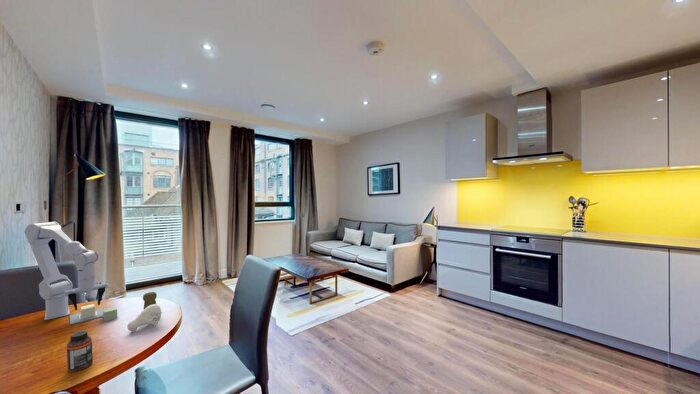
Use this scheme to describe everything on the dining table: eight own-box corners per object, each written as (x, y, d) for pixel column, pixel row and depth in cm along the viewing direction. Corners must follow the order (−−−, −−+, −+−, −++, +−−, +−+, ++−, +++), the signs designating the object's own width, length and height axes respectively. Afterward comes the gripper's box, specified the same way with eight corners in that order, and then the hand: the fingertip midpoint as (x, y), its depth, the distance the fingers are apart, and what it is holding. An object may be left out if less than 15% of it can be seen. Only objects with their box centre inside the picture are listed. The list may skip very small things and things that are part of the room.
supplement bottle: (70, 365, 93) (69, 331, 92) (94, 359, 96) (93, 326, 96) (64, 375, 88) (63, 339, 87) (90, 368, 91) (88, 334, 90)
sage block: (103, 318, 127) (103, 309, 127) (116, 315, 131) (115, 306, 131) (104, 321, 124) (104, 312, 124) (117, 317, 128) (117, 309, 127)
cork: (150, 320, 125) (149, 295, 125) (138, 318, 126) (138, 294, 126) (161, 314, 131) (160, 290, 131) (150, 313, 132) (150, 290, 132)
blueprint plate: (69, 316, 129) (69, 315, 129) (104, 308, 138) (104, 307, 138) (70, 324, 121) (70, 323, 121) (106, 315, 130) (106, 314, 130)
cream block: (81, 315, 130) (81, 306, 129) (94, 312, 133) (94, 303, 133) (81, 318, 126) (81, 309, 126) (95, 315, 130) (94, 306, 129)
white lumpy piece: (162, 304, 121) (129, 317, 111) (164, 322, 122) (132, 337, 112) (155, 301, 124) (122, 313, 114) (157, 319, 125) (125, 333, 115)
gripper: (64, 283, 121) (65, 314, 121) (108, 276, 131) (109, 304, 132) (64, 280, 126) (65, 309, 126) (106, 273, 136) (107, 300, 137)
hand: (87, 306), depth 129 cm, fingers open, 7 cm apart
